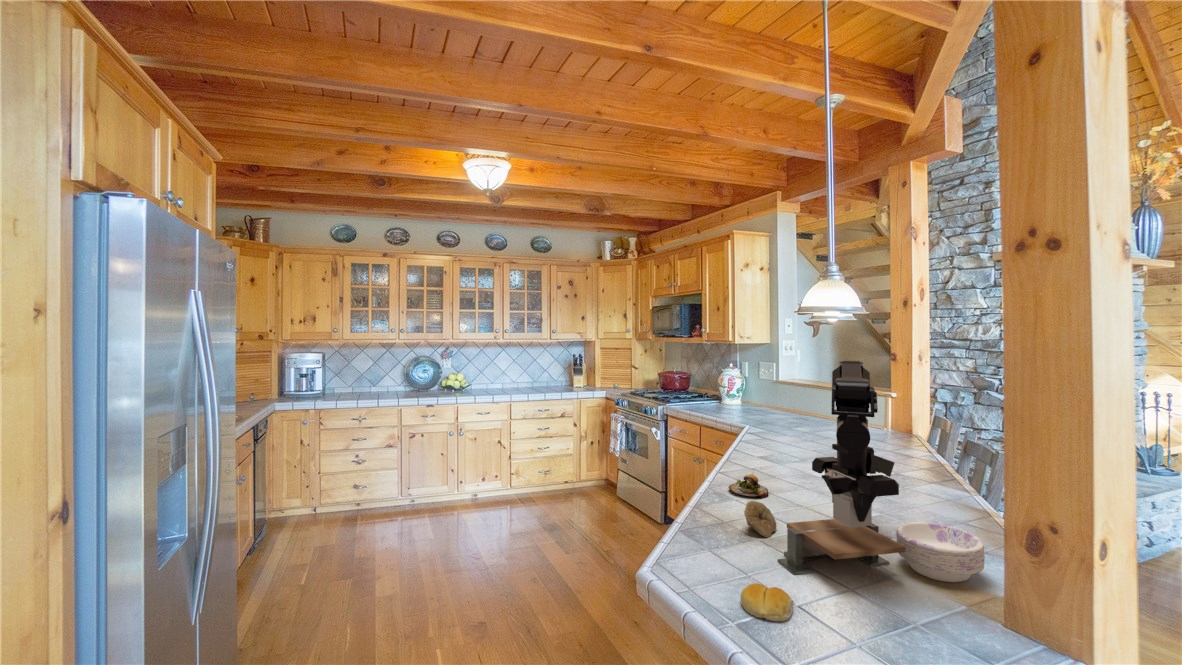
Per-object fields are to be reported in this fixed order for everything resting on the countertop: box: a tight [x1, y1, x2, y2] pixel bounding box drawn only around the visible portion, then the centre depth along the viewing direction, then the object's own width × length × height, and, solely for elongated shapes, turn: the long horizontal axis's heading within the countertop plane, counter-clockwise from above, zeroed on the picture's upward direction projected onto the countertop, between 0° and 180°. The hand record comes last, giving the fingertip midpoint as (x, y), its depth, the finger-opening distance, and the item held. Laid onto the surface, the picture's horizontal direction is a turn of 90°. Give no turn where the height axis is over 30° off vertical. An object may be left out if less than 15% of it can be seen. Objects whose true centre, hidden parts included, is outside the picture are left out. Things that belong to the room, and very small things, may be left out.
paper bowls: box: [895, 521, 986, 583], centre depth 106 cm, size 15×15×8 cm
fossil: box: [744, 500, 777, 538], centre depth 128 cm, size 9×4×10 cm
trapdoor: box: [786, 518, 906, 560], centre depth 107 cm, size 16×16×6 cm
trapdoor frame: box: [777, 523, 890, 576], centre depth 111 cm, size 23×8×8 cm, turn 102°
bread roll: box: [740, 583, 794, 622], centre depth 92 cm, size 8×9×4 cm
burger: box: [728, 469, 770, 500], centre depth 157 cm, size 12×12×8 cm
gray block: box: [832, 491, 873, 527], centre depth 104 cm, size 5×5×6 cm
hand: (852, 516), depth 104 cm, fingers closed on gray block, 5 cm apart
